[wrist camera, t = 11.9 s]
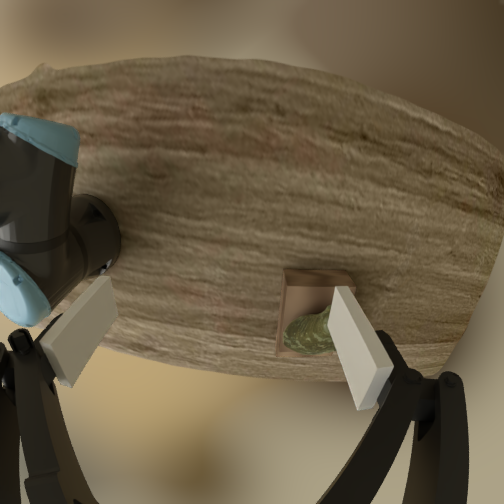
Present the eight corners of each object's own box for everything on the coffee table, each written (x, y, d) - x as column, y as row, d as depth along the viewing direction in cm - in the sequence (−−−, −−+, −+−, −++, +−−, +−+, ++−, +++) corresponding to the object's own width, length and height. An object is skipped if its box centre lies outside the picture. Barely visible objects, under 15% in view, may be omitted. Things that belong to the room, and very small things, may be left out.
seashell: (276, 355, 43) (304, 355, 34) (277, 312, 46) (304, 302, 37) (329, 354, 46) (364, 352, 37) (328, 314, 49) (362, 304, 40)
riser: (275, 346, 52) (277, 367, 47) (283, 269, 46) (287, 286, 40) (328, 345, 52) (335, 365, 47) (345, 270, 46) (356, 286, 41)
